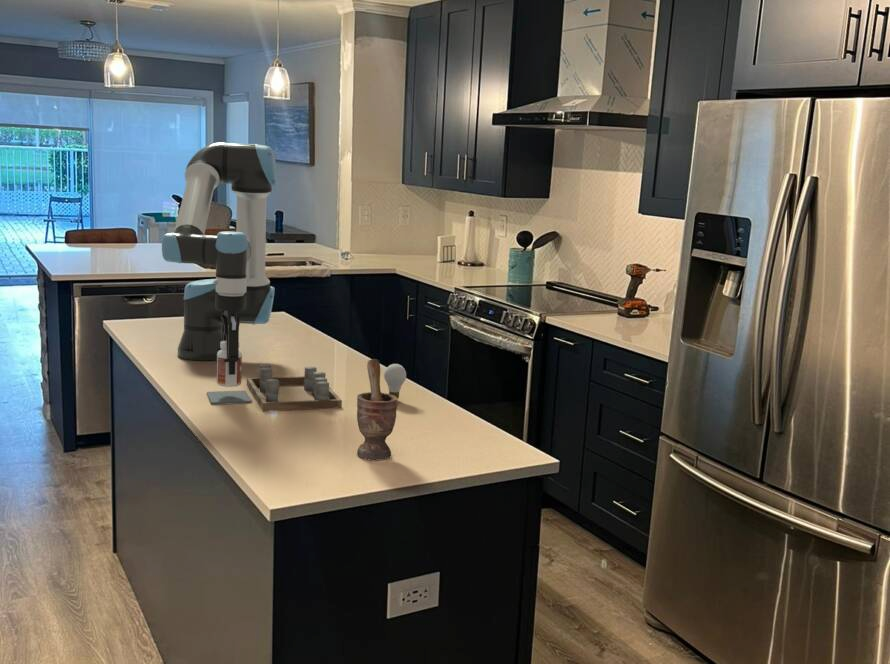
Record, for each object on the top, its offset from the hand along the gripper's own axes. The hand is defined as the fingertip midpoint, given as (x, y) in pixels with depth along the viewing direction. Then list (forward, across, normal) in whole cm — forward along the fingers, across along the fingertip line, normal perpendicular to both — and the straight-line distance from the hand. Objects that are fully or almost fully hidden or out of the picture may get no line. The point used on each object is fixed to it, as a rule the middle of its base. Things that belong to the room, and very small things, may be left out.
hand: (229, 382), depth 224 cm
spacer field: (+4, 0, +16) cm, 17 cm away
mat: (+4, 0, 0) cm, 4 cm away
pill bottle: (+1, 0, 0) cm, 1 cm away
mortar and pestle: (+5, +47, +24) cm, 53 cm away
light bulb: (+4, +8, +42) cm, 43 cm away
